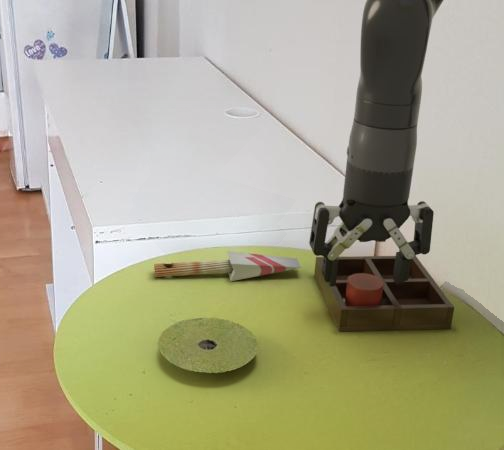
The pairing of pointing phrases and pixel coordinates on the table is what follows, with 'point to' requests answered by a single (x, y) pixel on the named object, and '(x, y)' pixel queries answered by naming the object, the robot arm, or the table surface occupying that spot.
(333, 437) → the table surface
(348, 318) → the grid
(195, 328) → the green disc
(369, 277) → the red cylinder
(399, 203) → the robot arm
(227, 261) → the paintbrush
